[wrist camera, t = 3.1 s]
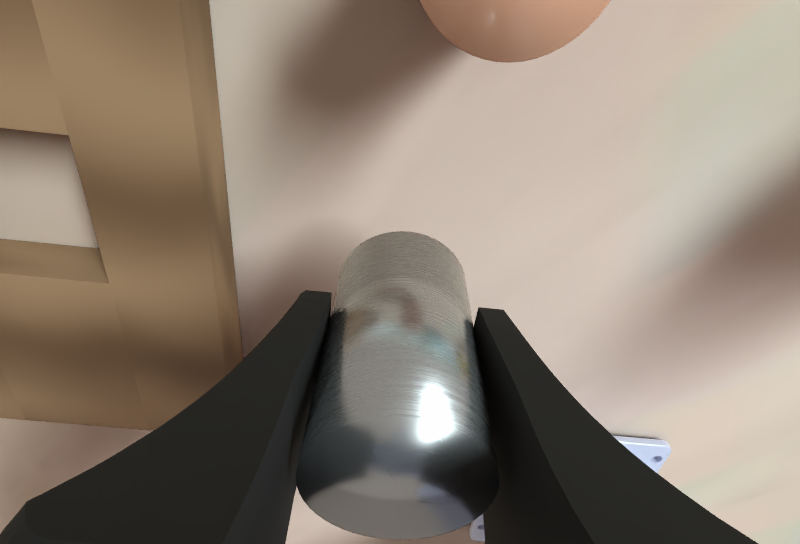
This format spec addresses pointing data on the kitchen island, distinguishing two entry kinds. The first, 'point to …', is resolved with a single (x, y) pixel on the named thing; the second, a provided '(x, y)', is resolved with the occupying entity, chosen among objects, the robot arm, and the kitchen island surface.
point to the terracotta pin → (512, 25)
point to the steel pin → (399, 398)
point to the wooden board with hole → (119, 215)
